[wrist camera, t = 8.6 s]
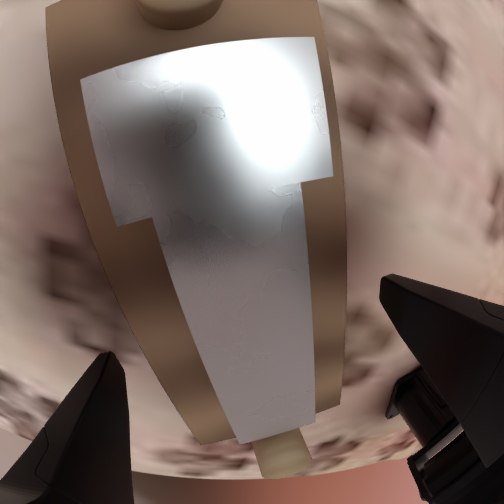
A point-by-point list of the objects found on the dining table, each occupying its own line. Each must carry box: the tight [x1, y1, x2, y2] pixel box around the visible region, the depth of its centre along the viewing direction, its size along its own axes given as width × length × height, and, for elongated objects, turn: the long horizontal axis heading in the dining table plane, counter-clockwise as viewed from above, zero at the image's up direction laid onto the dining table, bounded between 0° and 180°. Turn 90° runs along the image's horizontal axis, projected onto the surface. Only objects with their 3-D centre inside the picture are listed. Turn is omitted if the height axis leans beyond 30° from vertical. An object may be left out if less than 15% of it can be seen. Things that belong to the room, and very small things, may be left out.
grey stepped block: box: [80, 37, 333, 444], centre depth 11 cm, size 16×6×3 cm, turn 9°
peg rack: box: [46, 0, 347, 479], centre depth 11 cm, size 25×10×6 cm, turn 9°
